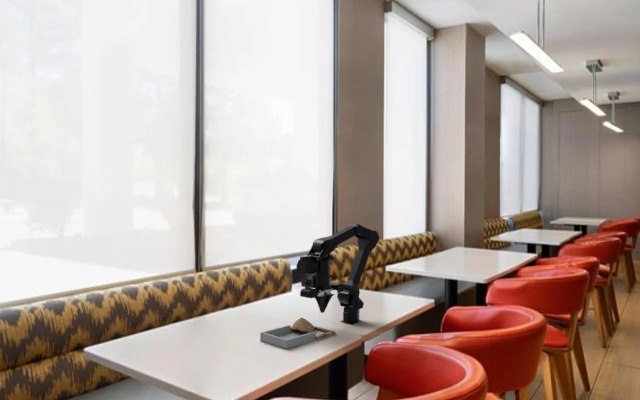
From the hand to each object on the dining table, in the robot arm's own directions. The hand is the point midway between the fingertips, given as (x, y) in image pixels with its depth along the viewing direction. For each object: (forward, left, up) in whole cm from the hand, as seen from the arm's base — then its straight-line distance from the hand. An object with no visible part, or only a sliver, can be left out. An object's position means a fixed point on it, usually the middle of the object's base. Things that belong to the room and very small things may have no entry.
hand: (322, 312), depth 189 cm
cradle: (+7, 0, -7) cm, 10 cm away
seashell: (+7, 0, -7) cm, 10 cm away
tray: (+18, 0, -7) cm, 19 cm away
